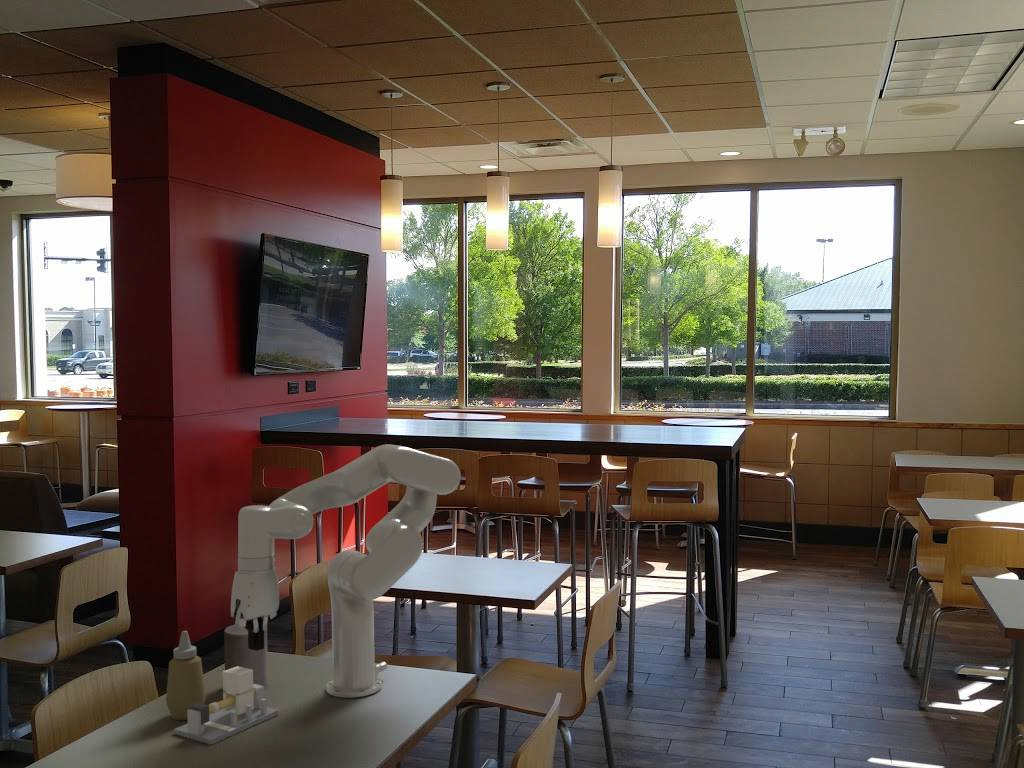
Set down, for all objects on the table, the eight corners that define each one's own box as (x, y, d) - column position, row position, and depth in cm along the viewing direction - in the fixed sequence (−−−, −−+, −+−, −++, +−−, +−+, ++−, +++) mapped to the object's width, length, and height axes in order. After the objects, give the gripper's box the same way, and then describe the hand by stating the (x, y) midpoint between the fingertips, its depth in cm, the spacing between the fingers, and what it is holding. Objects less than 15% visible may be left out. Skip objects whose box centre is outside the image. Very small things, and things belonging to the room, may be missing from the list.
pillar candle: (215, 689, 213) (214, 624, 213) (248, 676, 222) (247, 614, 221) (245, 697, 208) (244, 631, 208) (277, 684, 217) (276, 620, 216)
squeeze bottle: (193, 724, 193) (191, 638, 192) (158, 721, 194) (156, 636, 194) (213, 709, 201) (211, 627, 200) (179, 707, 202) (177, 625, 202)
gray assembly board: (242, 705, 203) (242, 677, 203) (278, 714, 197) (278, 686, 197) (173, 733, 187) (173, 704, 187) (210, 744, 182) (210, 714, 182)
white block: (238, 704, 198) (237, 666, 198) (253, 708, 195) (252, 669, 195) (223, 710, 194) (222, 671, 194) (239, 715, 192) (238, 675, 192)
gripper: (269, 556, 208) (269, 638, 208) (216, 567, 195) (216, 654, 195) (294, 559, 204) (294, 643, 204) (241, 571, 191) (241, 660, 191)
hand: (256, 648), depth 199 cm, fingers closed
